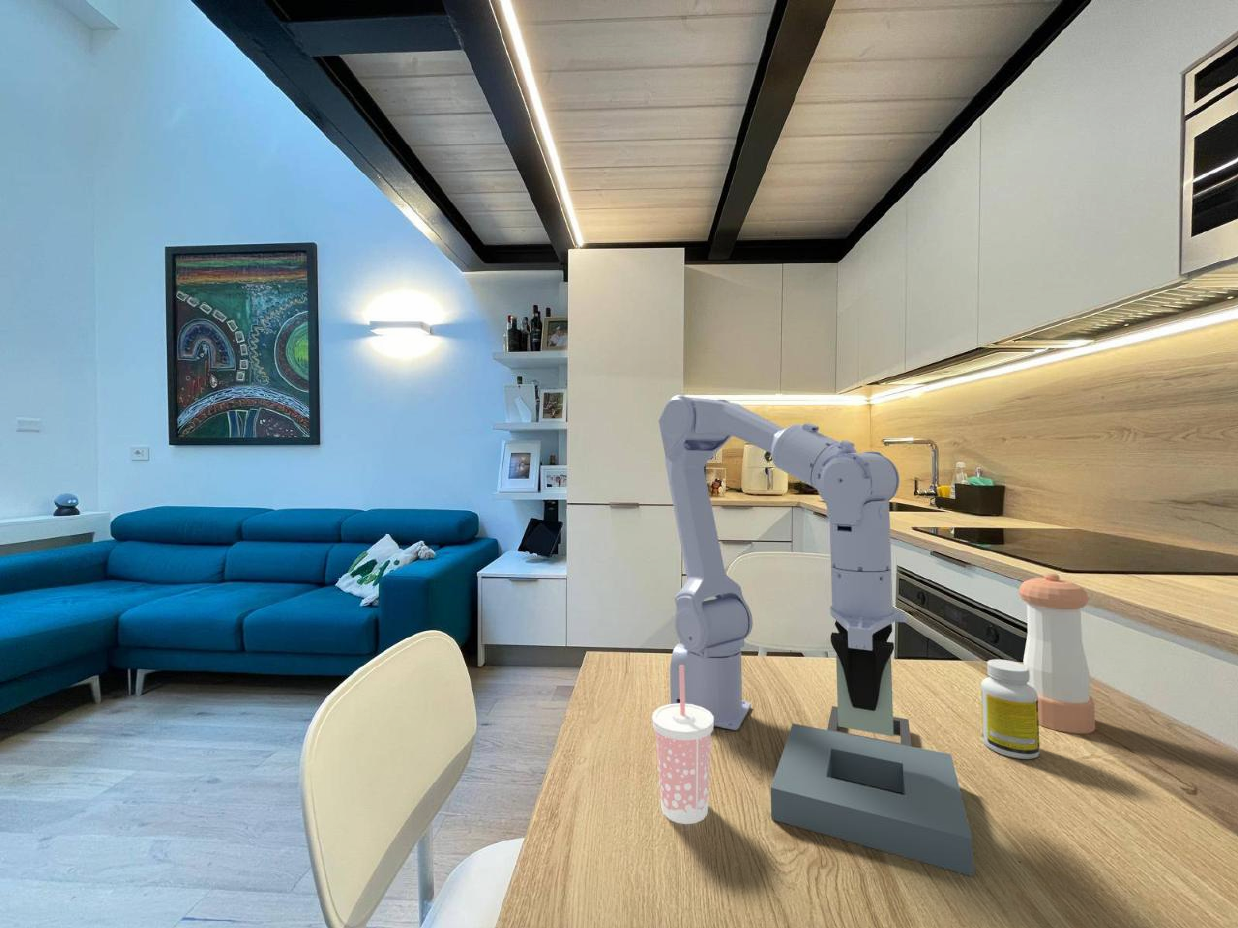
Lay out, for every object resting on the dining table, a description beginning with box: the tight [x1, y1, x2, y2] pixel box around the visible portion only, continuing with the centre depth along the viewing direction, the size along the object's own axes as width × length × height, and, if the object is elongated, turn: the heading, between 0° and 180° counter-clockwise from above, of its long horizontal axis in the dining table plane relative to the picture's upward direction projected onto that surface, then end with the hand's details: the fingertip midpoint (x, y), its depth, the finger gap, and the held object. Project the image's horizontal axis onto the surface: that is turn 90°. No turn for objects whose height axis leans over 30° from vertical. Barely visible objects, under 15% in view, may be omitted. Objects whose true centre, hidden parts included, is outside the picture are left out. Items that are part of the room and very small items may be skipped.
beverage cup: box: [651, 665, 715, 825], centre depth 51 cm, size 6×6×14 cm
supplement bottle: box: [980, 659, 1041, 760], centre depth 61 cm, size 5×5×10 cm
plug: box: [835, 654, 895, 737], centre depth 53 cm, size 5×4×8 cm
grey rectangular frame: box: [826, 705, 913, 747], centre depth 63 cm, size 9×8×2 cm
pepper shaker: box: [1018, 572, 1096, 735], centre depth 67 cm, size 7×7×19 cm
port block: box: [770, 723, 975, 878], centre depth 51 cm, size 16×14×3 cm
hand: (864, 698), depth 53 cm, fingers closed on plug, 4 cm apart
